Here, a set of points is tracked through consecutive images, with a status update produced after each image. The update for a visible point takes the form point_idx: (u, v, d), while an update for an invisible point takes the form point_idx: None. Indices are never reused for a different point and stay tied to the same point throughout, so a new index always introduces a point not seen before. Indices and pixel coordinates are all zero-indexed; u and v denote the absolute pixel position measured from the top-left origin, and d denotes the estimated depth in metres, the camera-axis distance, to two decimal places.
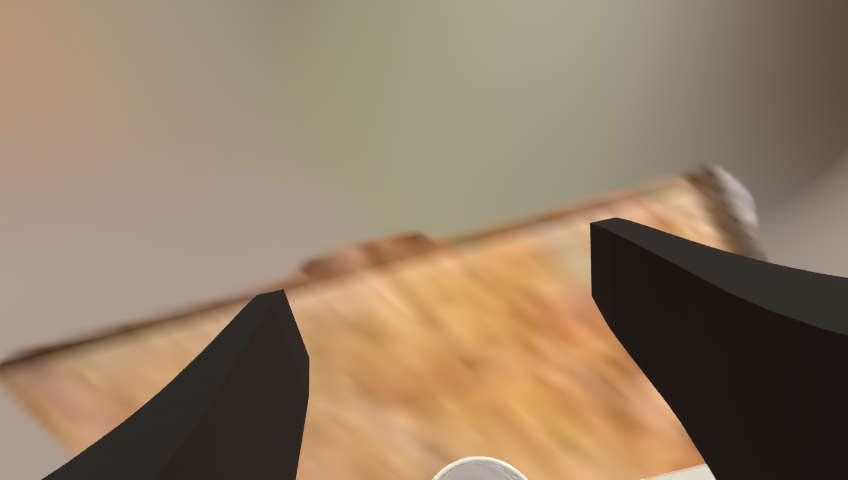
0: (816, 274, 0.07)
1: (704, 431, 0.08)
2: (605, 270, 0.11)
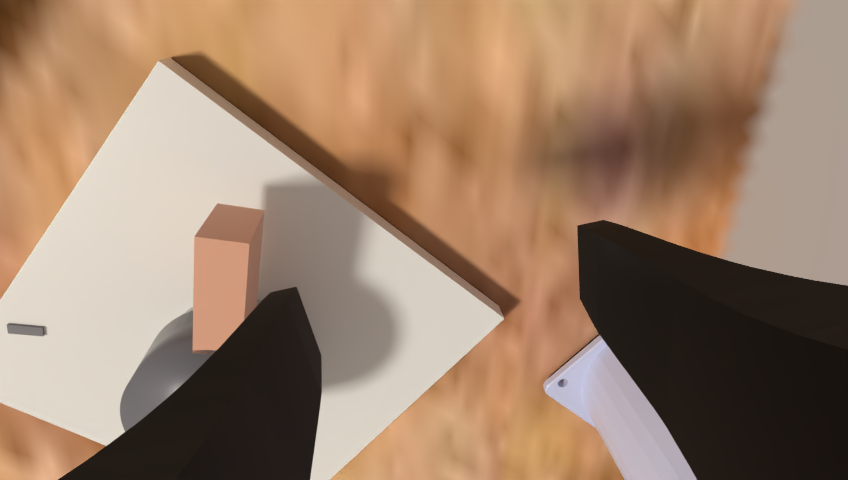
0: (796, 278, 0.07)
1: (687, 435, 0.08)
2: (592, 273, 0.11)
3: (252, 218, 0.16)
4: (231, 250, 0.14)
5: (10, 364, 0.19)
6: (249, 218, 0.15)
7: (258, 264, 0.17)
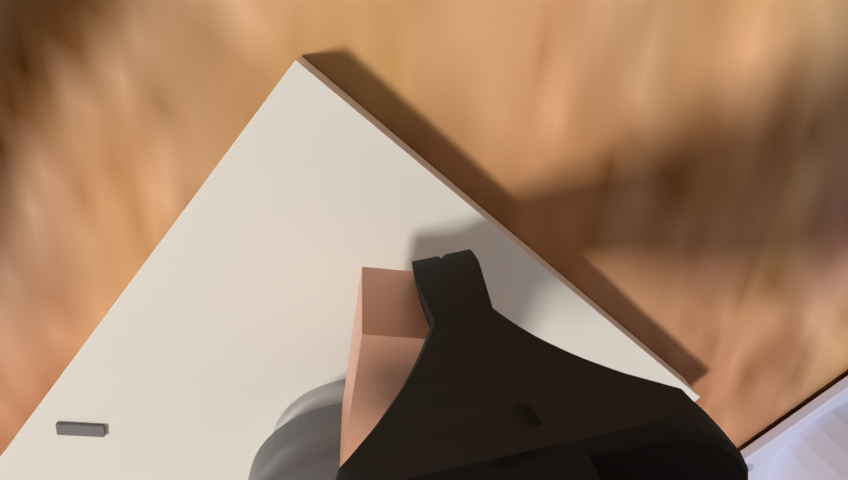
0: (532, 337, 0.07)
1: None
2: None
3: None
4: (414, 351, 0.09)
5: (58, 471, 0.14)
6: (417, 291, 0.10)
7: None
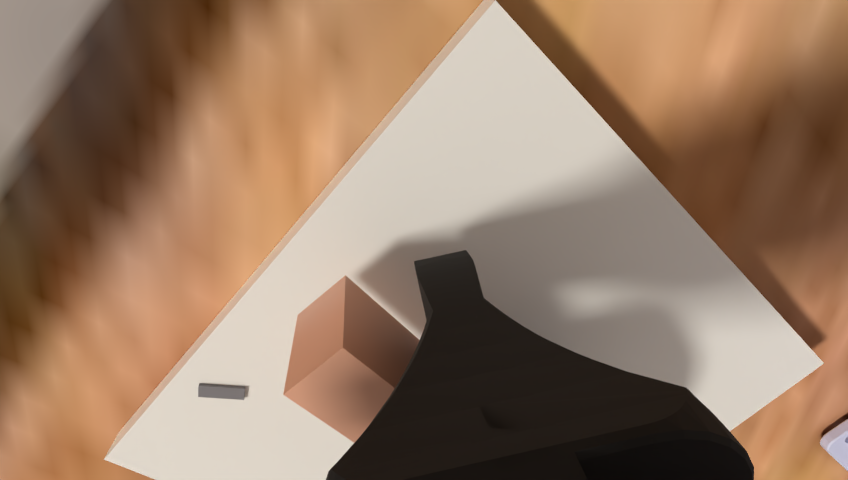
0: (535, 336, 0.07)
1: None
2: None
3: (336, 301, 0.10)
4: (335, 372, 0.09)
5: (192, 436, 0.14)
6: (332, 305, 0.10)
7: (403, 334, 0.11)
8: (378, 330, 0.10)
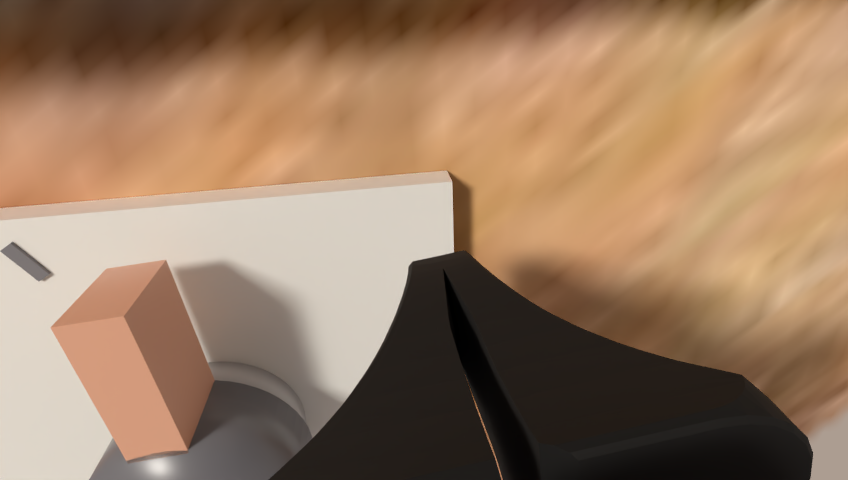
0: (574, 328, 0.07)
1: (504, 477, 0.08)
2: None
3: (144, 275, 0.12)
4: (106, 331, 0.10)
5: None
6: (139, 278, 0.12)
7: (185, 328, 0.13)
8: (165, 315, 0.12)
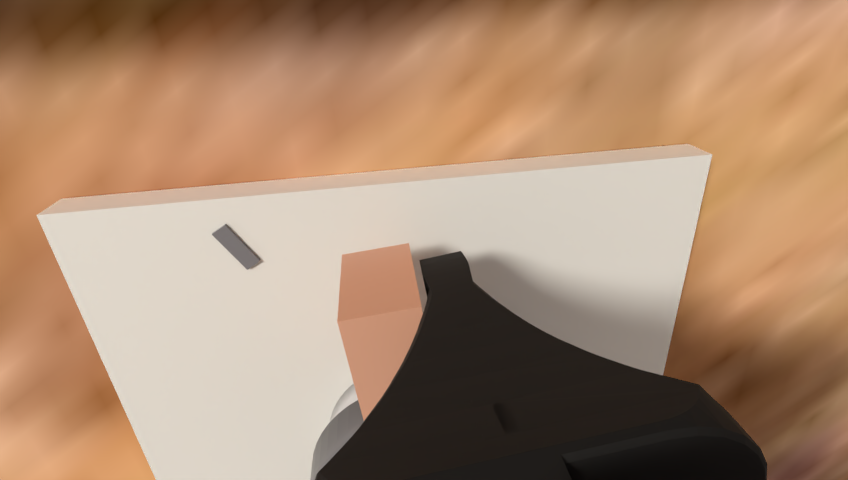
0: (544, 334, 0.07)
1: None
2: None
3: (399, 261, 0.10)
4: (397, 325, 0.09)
5: (156, 263, 0.12)
6: (396, 264, 0.10)
7: None
8: None
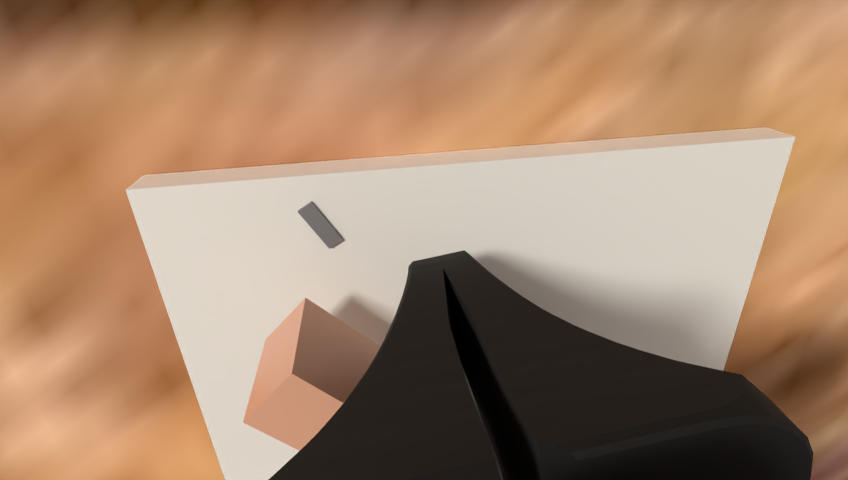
0: (574, 328, 0.07)
1: (504, 476, 0.08)
2: None
3: (294, 324, 0.10)
4: (289, 397, 0.09)
5: (239, 241, 0.12)
6: (291, 329, 0.10)
7: (369, 349, 0.11)
8: (339, 349, 0.10)
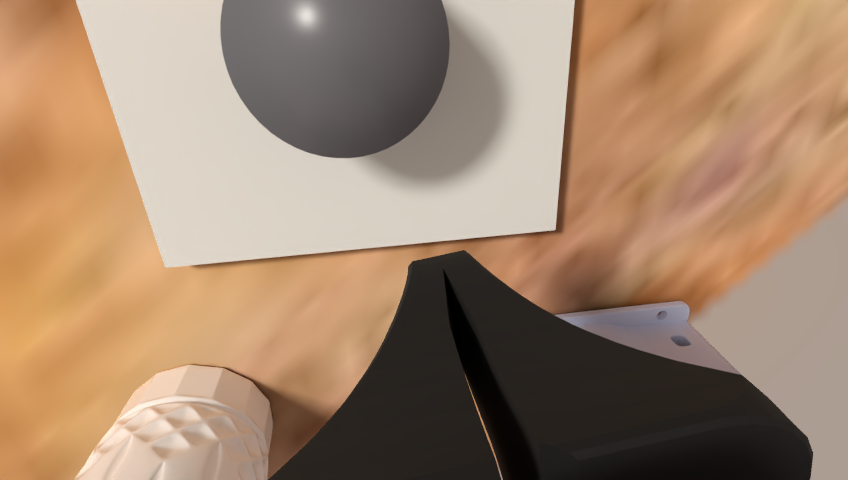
0: (574, 327, 0.07)
1: (504, 476, 0.08)
2: None
3: None
4: None
5: None
6: None
7: None
8: None
